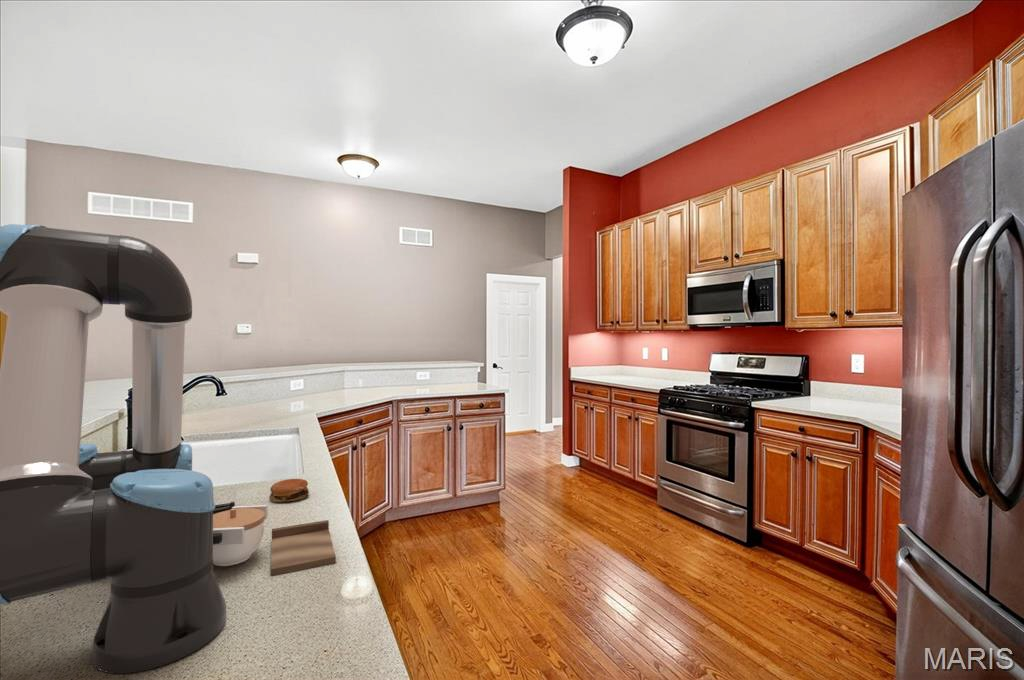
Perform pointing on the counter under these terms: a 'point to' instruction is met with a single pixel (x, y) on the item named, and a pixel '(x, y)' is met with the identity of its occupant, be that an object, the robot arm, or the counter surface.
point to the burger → (289, 490)
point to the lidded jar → (252, 534)
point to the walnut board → (301, 547)
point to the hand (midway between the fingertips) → (256, 522)
